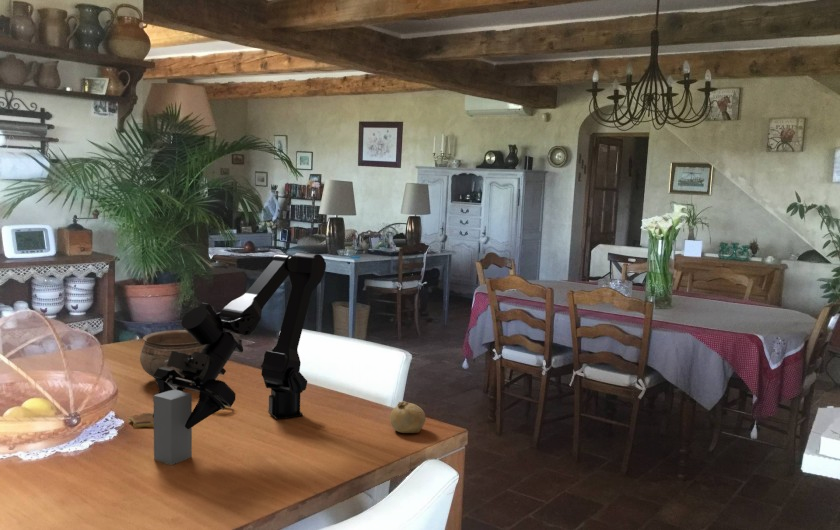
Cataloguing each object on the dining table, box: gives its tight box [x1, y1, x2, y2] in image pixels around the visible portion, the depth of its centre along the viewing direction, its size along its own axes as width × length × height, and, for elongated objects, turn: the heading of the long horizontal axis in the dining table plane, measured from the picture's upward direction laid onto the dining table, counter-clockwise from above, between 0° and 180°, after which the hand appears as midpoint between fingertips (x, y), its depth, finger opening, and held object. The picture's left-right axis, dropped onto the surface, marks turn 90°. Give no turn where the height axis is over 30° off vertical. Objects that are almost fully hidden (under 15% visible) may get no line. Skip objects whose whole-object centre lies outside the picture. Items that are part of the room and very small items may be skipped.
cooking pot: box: [139, 329, 205, 378], centre depth 191 cm, size 25×19×12 cm
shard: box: [127, 412, 154, 429], centre depth 158 cm, size 11×8×2 cm
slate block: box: [153, 389, 193, 466], centre depth 139 cm, size 5×5×13 cm
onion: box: [389, 400, 427, 434], centre depth 160 cm, size 8×8×7 cm
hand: (170, 423), depth 138 cm, fingers open, 9 cm apart
